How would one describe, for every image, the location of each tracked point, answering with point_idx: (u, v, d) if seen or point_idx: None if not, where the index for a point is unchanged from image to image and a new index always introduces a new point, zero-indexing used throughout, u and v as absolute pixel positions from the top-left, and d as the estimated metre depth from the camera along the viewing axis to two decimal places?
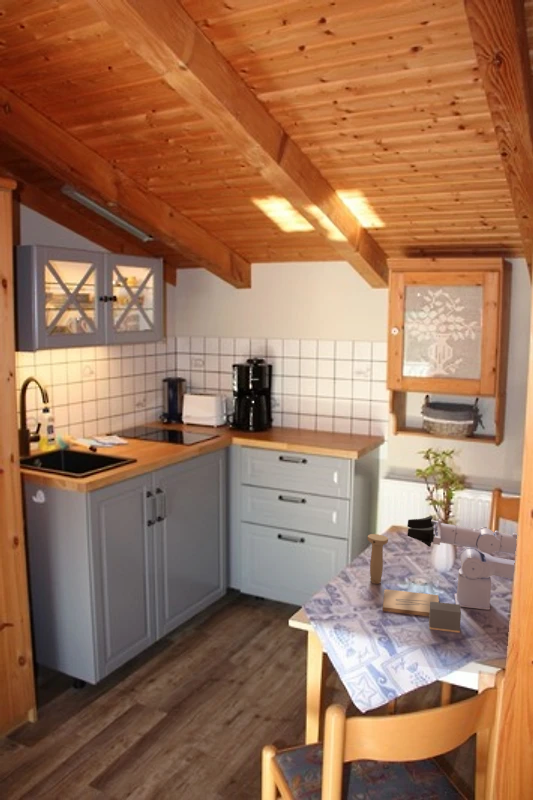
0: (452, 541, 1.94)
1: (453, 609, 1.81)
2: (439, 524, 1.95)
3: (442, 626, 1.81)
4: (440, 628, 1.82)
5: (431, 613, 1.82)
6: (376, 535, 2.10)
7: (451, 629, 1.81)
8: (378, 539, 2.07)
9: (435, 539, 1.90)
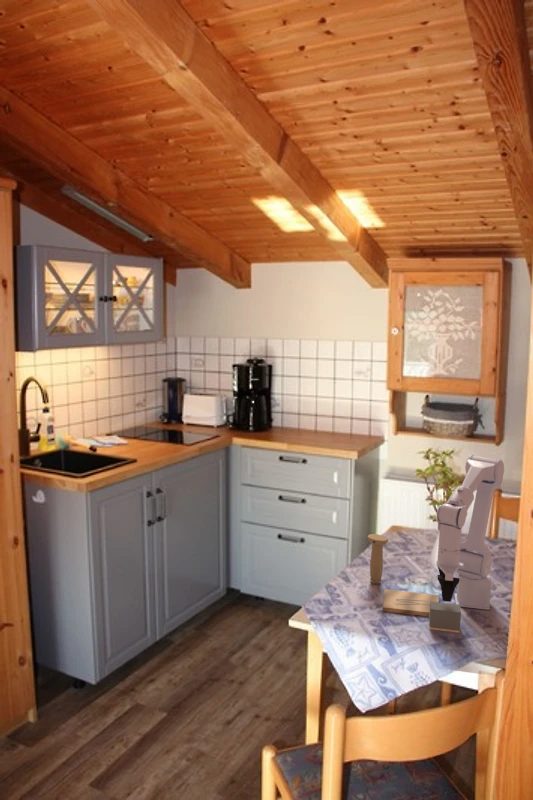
0: None
1: (453, 609, 1.81)
2: None
3: (442, 626, 1.81)
4: (440, 628, 1.82)
5: (431, 613, 1.82)
6: (376, 535, 2.10)
7: (451, 629, 1.81)
8: (378, 539, 2.07)
9: None
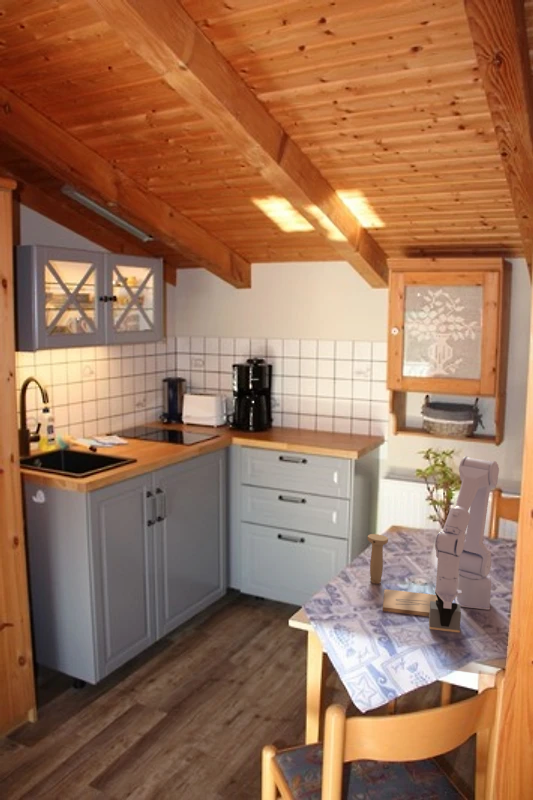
0: None
1: None
2: None
3: (442, 626, 1.81)
4: (440, 628, 1.82)
5: (431, 613, 1.81)
6: (376, 535, 2.10)
7: (451, 629, 1.81)
8: (378, 539, 2.07)
9: None
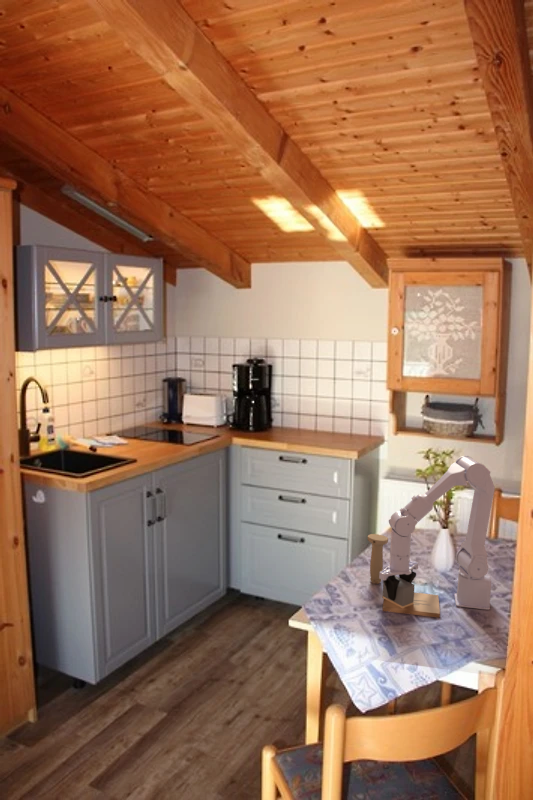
0: None
1: (402, 585, 1.93)
2: None
3: None
4: (389, 599, 1.95)
5: (383, 583, 1.97)
6: (376, 535, 2.10)
7: (397, 603, 1.93)
8: (378, 539, 2.07)
9: None
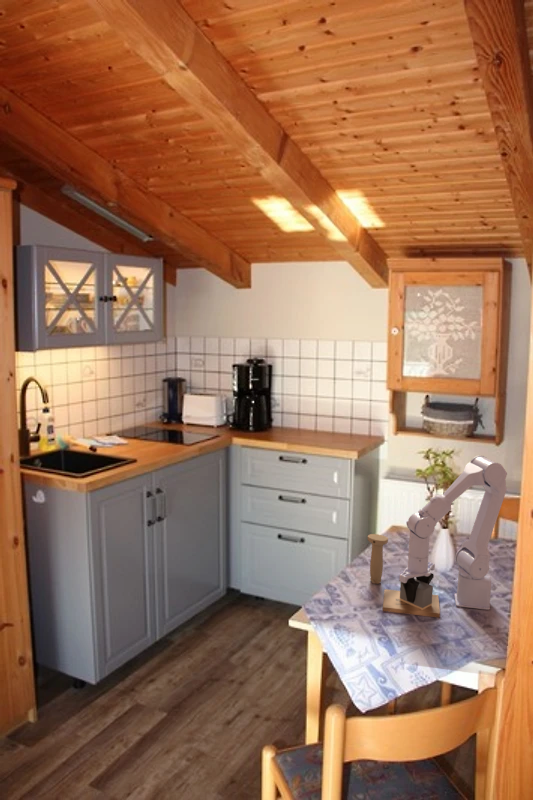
0: None
1: (420, 586, 1.92)
2: None
3: None
4: (407, 601, 1.94)
5: (401, 585, 1.95)
6: (376, 535, 2.10)
7: (416, 604, 1.92)
8: (378, 539, 2.07)
9: None
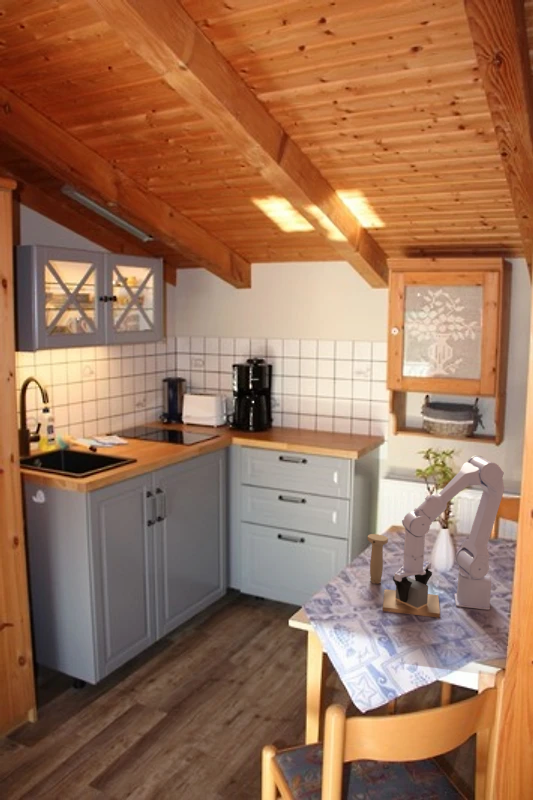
0: None
1: (416, 586, 1.92)
2: None
3: None
4: None
5: None
6: (376, 535, 2.10)
7: (411, 604, 1.92)
8: (378, 539, 2.07)
9: None
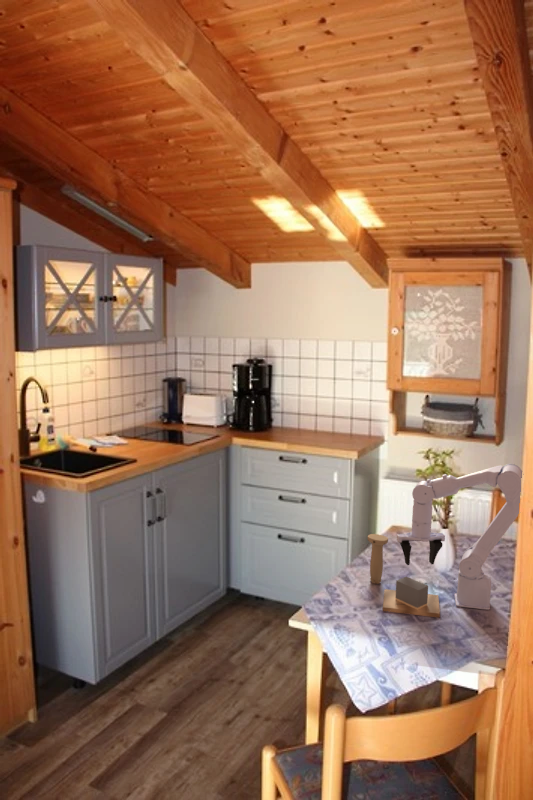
0: None
1: (416, 586, 1.92)
2: (428, 539, 1.99)
3: (404, 599, 1.94)
4: (403, 601, 1.94)
5: (396, 585, 1.96)
6: (376, 535, 2.10)
7: (411, 604, 1.92)
8: (378, 539, 2.07)
9: None
